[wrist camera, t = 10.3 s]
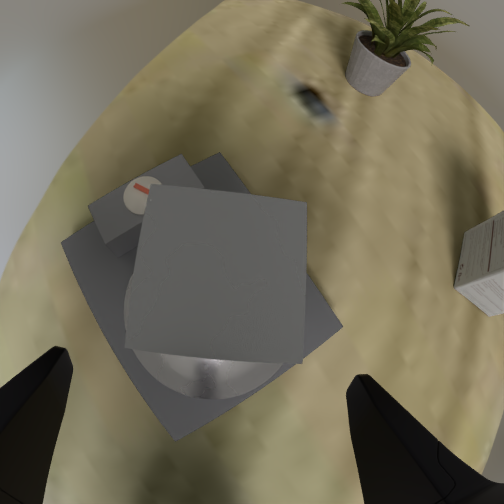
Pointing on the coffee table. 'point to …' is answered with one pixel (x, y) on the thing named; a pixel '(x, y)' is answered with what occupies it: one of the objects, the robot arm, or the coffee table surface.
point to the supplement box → (483, 266)
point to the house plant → (388, 44)
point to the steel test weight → (219, 276)
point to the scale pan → (203, 371)
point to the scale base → (122, 267)
